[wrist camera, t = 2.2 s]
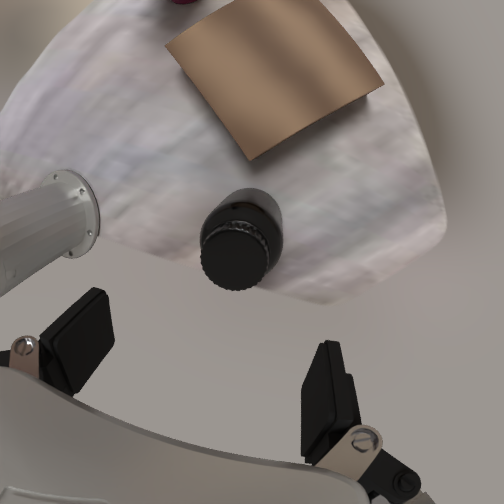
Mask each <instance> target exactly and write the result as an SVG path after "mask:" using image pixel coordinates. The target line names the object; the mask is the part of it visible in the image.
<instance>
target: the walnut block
mask: <svg viewBox="0 0 504 504" xmlns="http://www.w3.org/2000/svg"><path fill="white" fill-rule="evenodd" d="M165 47H166V48H167V50H168V51H169V52H170V53H171V55H172V56H173V57H174V58H175V60H176V61H177V62H178V64H179V65H180V66H181V67H182V69H183V70H184V71H185V73H186V74H187V75H188V77H189V78H190V79H191V80H192V82H193V83H194V84H195V86H196V87H197V88H198V90H199V91H200V92H201V94H202V95H203V96H204V98H205V99H206V100H207V102H208V103H209V105H210V106H211V107H212V109H213V110H214V111H215V113H216V114H217V116H218V117H219V118H220V120H221V121H222V123H223V124H224V125H225V127H226V128H227V130H228V131H229V132H230V134H231V135H232V137H233V138H234V139H235V141H236V142H237V144H238V145H239V147H240V148H241V149H242V151H243V152H244V154H245V155H246V157H247V158H248V160H249V161H251V160H253V159H256V158H257V157H259V156H261V155H262V154H264V153H265V152H267V151H268V150H270V149H272V148H273V147H275V146H276V145H278V144H280V143H281V142H283V141H285V140H286V139H288V138H290V137H291V136H293V135H295V134H296V133H298V132H300V131H301V130H303V129H305V128H306V127H308V126H310V125H312V124H313V123H315V122H317V121H319V120H320V119H322V118H324V117H326V116H327V115H329V114H331V113H333V112H335V111H337V110H338V109H340V108H342V107H344V106H346V105H348V104H350V103H351V102H353V101H355V100H357V99H359V98H361V97H363V96H365V95H367V94H369V93H370V92H372V91H374V90H376V89H377V88H379V87H381V86H383V85H384V82H383V81H382V79H381V77H380V76H379V74H378V73H377V71H376V70H375V69H374V67H373V66H372V64H371V63H370V61H369V60H368V59H367V57H366V56H365V54H364V53H363V52H362V50H361V49H360V48H359V46H358V45H357V44H356V43H355V41H354V40H353V39H352V38H351V36H350V35H349V34H348V33H347V31H346V30H345V29H344V28H343V27H342V25H341V24H340V23H339V22H338V21H337V20H336V18H335V17H334V16H333V15H332V14H331V13H330V12H329V11H328V10H327V8H326V7H325V6H324V5H323V4H322V3H321V2H320V1H319V0H234V1H233V2H231V3H229V4H227V5H225V6H224V7H222V8H220V9H218V10H217V11H215V12H213V13H212V14H210V15H208V16H207V17H205V18H204V19H202V20H200V21H199V22H197V23H196V24H194V25H193V26H191V27H190V28H188V29H187V30H185V31H184V32H183V33H181V34H180V35H178V36H177V37H176V38H174V39H173V40H171V41H170V42H169V43H167V44H166V45H165Z"/></svg>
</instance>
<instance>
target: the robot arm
mask: <svg viewBox="0 0 504 504" xmlns="http://www.w3.org/2000/svg"><path fill="white" fill-rule="evenodd" d="M98 230H99V213H98V207H97V203H96V200H95V197H94V195H93V192H92V190H91V189H90V187H89V185H88V184H87V182H86V181H85V180H84V179H83V178H82V177H81V176H80V175H79V174H77V173H75V172H73V171H70V170H58V171H55V172H53V173H51V174H49V175H48V176H47V177H46V178H45V179H44V180H43V182H42V184H41V186H40V187H39V188H36V189H33V190H30V191H26V192H23V193H20V194H17V195H14V196H11V197H9V198H6V199H3V200H0V297H2V296H3V295H5V294H6V293H7V292H9V291H10V290H11V289H13V288H14V287H16V286H17V285H18V284H20V283H21V282H23V281H24V280H25V279H27V278H28V277H30V276H31V275H33V274H34V273H35V272H37V271H38V270H40V269H42V268H43V267H45V266H46V265H48V264H49V263H51V262H52V261H54V260H55V259H57V258H58V257H60V256H63V257H66V258H78V257H81V256H82V255H84V254H85V253H87V252H88V251H89V250H90V249H91V248H92V246H93V245H94V243H95V241H96V238H97V235H98ZM114 342H115V338H114V332H113V326H112V319H111V312H110V306H109V297H108V295H107V294H106V292H105V291H104V290H102V289H99V288H95V287H93V288H91V289H90V290H89V291H88V292H87V293H85V294H84V295H83V296H82V297H81V298H80V299H79V300H78V301H76V302H75V303H74V304H73V305H72V306H71V307H70V308H68V309H67V310H66V311H65V312H64V313H63V314H62V315H61V316H60V317H59V318H57V320H55V321H54V322H53V323H52V324H51V325H50V326H49V327H48V328H47V329H46V330H45V331H44V332H43V333H42V334H40V340H39V341H37V340H36V338H34V337H32V336H22V337H19V338H18V339H16V340H15V341H14V342H13V344H12V346H11V350H6V351H0V504H435V503H434V501H433V500H432V499H431V498H430V496H429V495H428V494H427V493H426V492H424V493H422V491H421V490H420V488H421V480H420V477H419V476H418V474H417V473H416V472H414V471H413V470H411V469H410V468H408V467H407V466H406V465H404V464H403V463H401V462H400V461H398V460H397V459H396V458H394V457H393V456H391V455H390V454H388V453H387V452H386V451H384V450H383V449H382V444H383V440H382V437H381V435H380V433H379V432H378V431H377V430H376V429H375V428H373V427H370V426H367V425H362V423H361V417H360V412H359V406H358V401H357V396H356V391H355V386H354V381H353V377H352V375H351V374H347V373H346V372H345V367H344V362H343V357H342V352H341V347H340V343H339V342H337V341H330V340H326V341H325V342H324V343H320V344H319V346H318V349H317V351H316V354H315V356H314V359H313V361H312V364H311V366H310V368H309V371H308V373H307V376H306V378H305V380H304V382H303V385H302V389H301V456H303V457H305V463H309V464H312V466H309V465H305V464H296V463H290V462H282V461H274V460H268V459H261V458H254V457H248V456H243V455H238V454H232V453H227V452H222V451H217V450H213V449H209V448H205V447H200V446H197V445H193V444H189V443H186V442H182V441H179V440H176V439H172V438H169V437H166V436H163V435H160V434H157V433H154V432H151V431H148V430H145V429H142V428H139V427H137V426H134V425H132V424H129V423H127V422H124V421H122V420H119V419H117V418H115V417H112V416H110V415H108V414H105V413H103V412H101V411H99V410H96V409H94V408H92V407H90V406H88V405H86V404H84V403H82V402H80V401H78V400H76V399H74V398H72V397H73V396H74V394H75V393H78V392H80V390H81V389H82V387H83V386H84V385H85V383H86V382H87V380H88V379H89V378H90V376H91V375H92V374H93V372H94V371H95V370H96V368H97V367H98V366H99V364H100V362H101V361H102V360H103V359H104V357H105V356H106V355H107V354H108V352H109V351H110V350H111V348H112V347H113V345H114Z"/></svg>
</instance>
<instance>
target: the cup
mask: <svg viewBox="0 0 504 504" xmlns="http://www.w3.org/2000/svg"><path fill="white" fill-rule="evenodd" d="M171 1H173V2H174V3H177V4H188V3H192V2H194V1H197V0H171Z"/></svg>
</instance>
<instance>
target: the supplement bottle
mask: <svg viewBox="0 0 504 504" xmlns="http://www.w3.org/2000/svg"><path fill="white" fill-rule="evenodd" d="M200 248H201V256H200V258H201V265H202V266H203V270H204V271H205V274H206V276H208V277H209V279H210V280H211V281H213V283H214V284H216V285H218V286H219V287H221V288H224V289H226V290H228V289H229V290H232V291H234V290H236V291H240V290H246V289H247V288H251V287H252V286H254V285H257V283H258V282H260V281H261V280H262V277H264V276H265V275H266V274H267V273H268V272H270V271H271V270H272V269H273V268H274V266H275V265H276V264H277V262H278V260H279V258H280V256H281V253H282V248H283V229H282V215H281V211H280V208H279V206H278V204H277V202H276V201H275V200H274V199H273V198H272V197H271V196H270V195H269V194H268V193H266V192H264V191H262V190H259V189H255V188H244V189H240V190H237V191H235V192H233V193H232V194H230V195H229V196H228V197H226V198H225V199H224V200H223V201H222V202H221V203H220V204H219V205H218V206H217V207H216V208H215V209H214V210H213V211H212V212H211V213H210V214H209V215H208V217H207V218H206V220H205V222H204V223H203V226H202V228H201V232H200Z"/></svg>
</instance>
